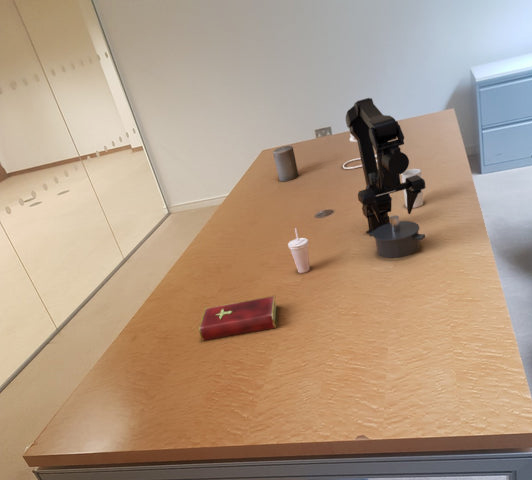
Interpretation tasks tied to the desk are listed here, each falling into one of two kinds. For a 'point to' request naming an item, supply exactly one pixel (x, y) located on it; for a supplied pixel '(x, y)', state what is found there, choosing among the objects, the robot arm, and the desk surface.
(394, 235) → the lid
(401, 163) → the robot arm
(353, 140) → the earphone
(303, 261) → the smoothie
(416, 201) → the mug
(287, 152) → the pillar candle
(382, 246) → the pot
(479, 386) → the desk surface
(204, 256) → the desk surface
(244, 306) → the hardcover book
